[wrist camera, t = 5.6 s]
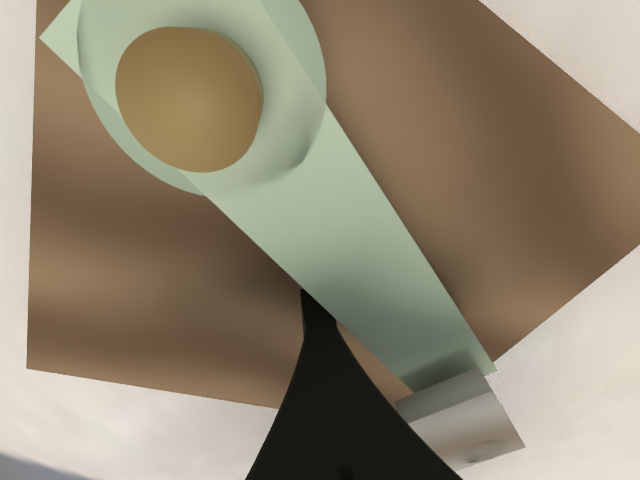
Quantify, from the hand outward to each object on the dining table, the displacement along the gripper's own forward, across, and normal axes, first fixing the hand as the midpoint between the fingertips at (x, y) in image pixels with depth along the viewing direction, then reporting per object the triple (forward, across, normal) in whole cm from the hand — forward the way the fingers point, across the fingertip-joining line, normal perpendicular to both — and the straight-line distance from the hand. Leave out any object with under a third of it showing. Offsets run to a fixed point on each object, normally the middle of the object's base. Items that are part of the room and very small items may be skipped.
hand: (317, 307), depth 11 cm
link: (+1, -1, -3) cm, 3 cm away
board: (+2, -1, 0) cm, 3 cm away
